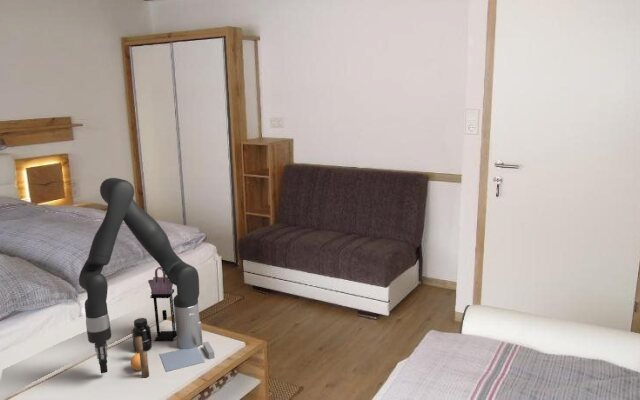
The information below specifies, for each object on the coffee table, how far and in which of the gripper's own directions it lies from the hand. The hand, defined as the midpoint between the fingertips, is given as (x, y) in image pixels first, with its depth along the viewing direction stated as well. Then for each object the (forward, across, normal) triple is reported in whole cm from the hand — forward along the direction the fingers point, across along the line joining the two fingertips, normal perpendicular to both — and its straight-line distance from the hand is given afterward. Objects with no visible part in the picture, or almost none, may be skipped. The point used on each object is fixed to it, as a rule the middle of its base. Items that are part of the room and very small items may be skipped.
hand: (104, 371), depth 185 cm
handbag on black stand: (+2, +21, -25) cm, 33 cm away
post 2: (+2, -6, -13) cm, 15 cm away
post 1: (+2, +6, -13) cm, 15 cm away
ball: (-1, 0, -12) cm, 12 cm away
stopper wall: (+2, -1, -37) cm, 37 cm away
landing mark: (+2, 0, -27) cm, 27 cm away
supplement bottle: (+2, +15, -15) cm, 21 cm away
